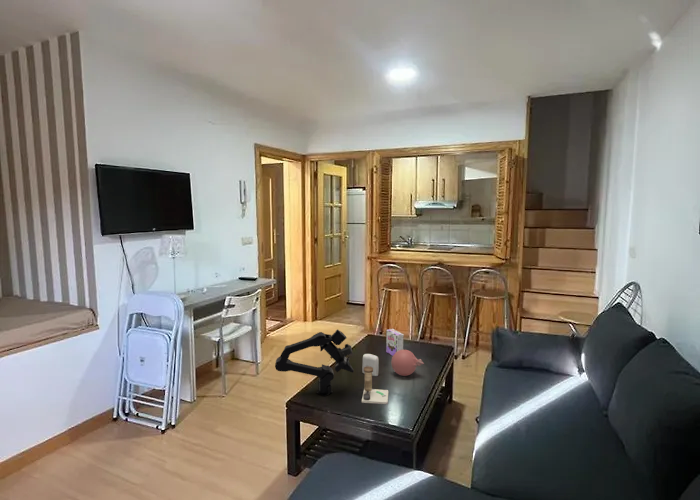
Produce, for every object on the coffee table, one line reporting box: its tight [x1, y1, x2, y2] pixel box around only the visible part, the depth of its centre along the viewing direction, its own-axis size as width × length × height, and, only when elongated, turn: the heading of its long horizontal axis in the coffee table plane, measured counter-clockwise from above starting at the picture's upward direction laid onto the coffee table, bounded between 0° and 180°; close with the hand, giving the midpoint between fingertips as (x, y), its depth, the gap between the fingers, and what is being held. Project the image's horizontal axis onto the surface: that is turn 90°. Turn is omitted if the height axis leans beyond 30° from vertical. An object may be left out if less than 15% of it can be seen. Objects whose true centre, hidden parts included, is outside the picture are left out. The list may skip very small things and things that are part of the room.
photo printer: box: [361, 353, 380, 377], centre depth 242 cm, size 10×4×12 cm, turn 60°
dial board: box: [361, 388, 389, 405], centre depth 213 cm, size 14×14×1 cm
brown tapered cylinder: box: [362, 366, 373, 400], centre depth 212 cm, size 11×5×14 cm, turn 172°
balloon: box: [390, 349, 425, 377], centre depth 240 cm, size 15×20×15 cm
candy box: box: [385, 328, 405, 357], centre depth 274 cm, size 14×6×16 cm, turn 25°
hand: (353, 371), depth 215 cm, fingers closed
